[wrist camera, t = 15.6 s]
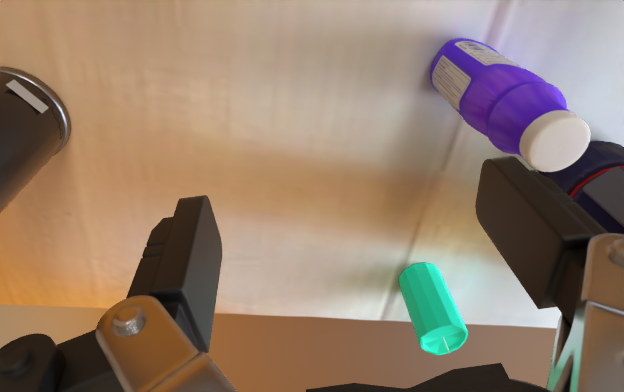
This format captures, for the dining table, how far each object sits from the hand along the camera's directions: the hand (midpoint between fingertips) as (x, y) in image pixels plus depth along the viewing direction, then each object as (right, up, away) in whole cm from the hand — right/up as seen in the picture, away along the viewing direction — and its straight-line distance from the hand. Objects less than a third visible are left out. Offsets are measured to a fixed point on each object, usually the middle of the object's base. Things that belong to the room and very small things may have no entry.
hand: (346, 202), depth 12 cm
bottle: (+14, +13, +29) cm, 35 cm away
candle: (+14, -11, +46) cm, 50 cm away
